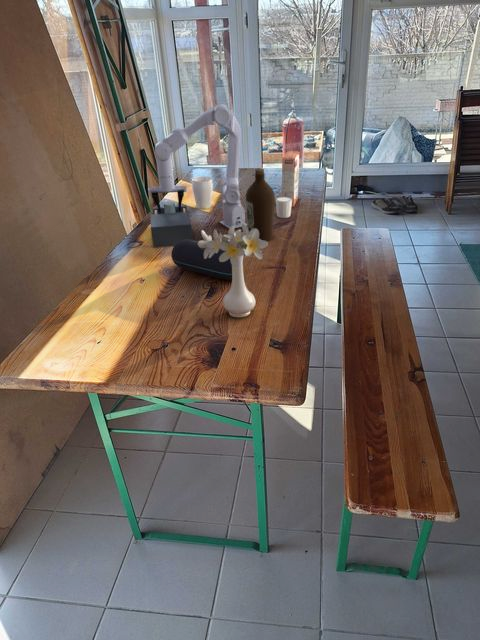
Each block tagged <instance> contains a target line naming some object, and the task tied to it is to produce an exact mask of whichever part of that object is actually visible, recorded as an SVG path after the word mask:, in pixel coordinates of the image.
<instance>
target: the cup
mask: <svg viewBox="0 0 480 640" xmlns="http://www.w3.org/2000/svg"><path fill="white" fill-rule="evenodd" d="M213 188H214V185H213V179H212V177H210V176H195V177H193V178H192V179H191V189H192V193H193V198H194V202H195V206H196V208H197V209H201V210H204V209H205V210H206V209H210V208H211V207H212V202H213Z"/></svg>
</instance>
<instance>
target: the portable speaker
mask: <svg viewBox="0 0 480 640" xmlns="http://www.w3.org/2000/svg"><path fill="white" fill-rule="evenodd" d="M199 241H200V240H197V239H196V240H195V239H193V240H190V239H186V240H181V241H179V242H177V243H176V244H175V245H174V246H172V249H171V255H170V256H171V261H172V262H173V264H174V265H175V266H177V268H180V269H182V270H185V271H189V272H194V273H197V274H201V275H205V276H208V277H212V278H216V279H219V280H220V279H221V280H224V281H231V282H232V264H231V261H230V258H231V257H230V258H229V259H228V260H227V261H225V262H220V261H219V257H220V256H221V254H222V253H224V252H226V251H223V250H222V249H219V251H218V253H214V254H213V256H212V257H211V258H209V254H210V252H209V254H208V256H207V258H206V259H204V251H205V249H206V248H200V247H199V246H198V242H199ZM213 249H215V248H213ZM244 261H245V260H244V258H243V265H244V263H245V262H244Z"/></svg>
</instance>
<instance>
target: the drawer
mask: <svg viewBox="0 0 480 640" xmlns="http://www.w3.org/2000/svg"><path fill="white" fill-rule="evenodd" d="M187 207H188V206H187V205H181V211H179V207H178V205H175V210H176V213H180V212H188V208H187ZM160 208H161V213H159V210H158V207H157V206H156V207H152V211H153V214H165V212H164V206H160Z"/></svg>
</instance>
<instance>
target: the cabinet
mask: <svg viewBox="0 0 480 640" xmlns="http://www.w3.org/2000/svg"><path fill="white" fill-rule="evenodd" d="M150 233H151V240H152V248H161V247H162V248H163V247H164V248H165V247H173V246H174V245H175V244H176V243H177V242H179V241H181V240H186V239H190V240H194V238H193V228H192V220H191V215H190V211H187V212H180V213H166V214H154V213H153V214H150Z"/></svg>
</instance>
